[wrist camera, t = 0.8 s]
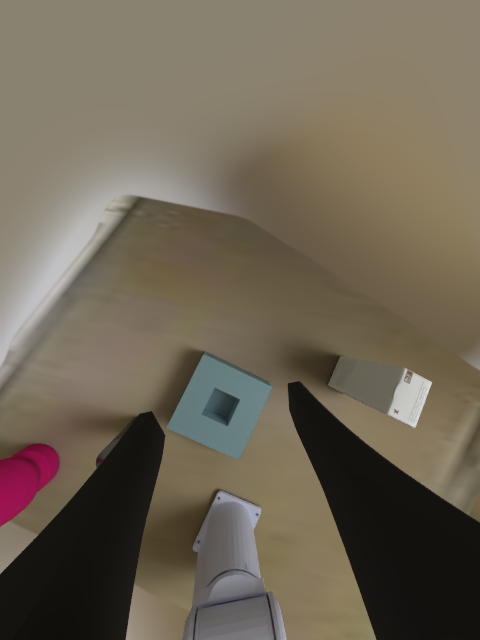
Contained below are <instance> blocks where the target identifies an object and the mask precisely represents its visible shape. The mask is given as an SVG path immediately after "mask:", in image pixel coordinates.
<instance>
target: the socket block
mask: <svg viewBox="0 0 480 640" xmlns="http://www.w3.org/2000/svg"><path fill="white" fill-rule="evenodd" d="M271 389H272V386H271V385H270V384H269V382H268V381H266V380H263V379H261V378H259V377H257V376H255V375H253V374H251V373H249V372H247V371H245V370H243V369H240V368H238V367H236V366H234V365H232V364H230V363H228V362H226V361H224V360H222V359H220V358H217V357H215V356H213V355H211V354H209V353H207V352H205V353H204V354H203V356H202V358H201V360H200V362H199V364H198V366H197V368H196V370H195V372H194V374H193V376H192V378H191V380H190V382H189V384H188V386H187V388H186V390H185V392H184V394H183V396H182V398H181V400H180V402H179V404H178V406H177V408H176V410H175V412H174V414H173V416H172V418H171V420H170V422H169V424H168V426H167V429H169V430H171V431H174V432H176V433H178V434H180V435H183V436H185V437H187V438H189V439H192V440H194V441H196V442H199V443H201V444H203V445H205V446H208V447H210V448H212V449H214V450H217V451H219V452H221V453H223V454H226V455H228V456H230V457H233V458H235V459H237V460H239V459H240V457H241V455H242V453H243V451H244V448H245V446H246V444H247V442H248V440H249V438H250V435H251V433H252V431H253V429H254V427H255V424H256V422H257V420H258V418H259V416H260V413H261V411H262V409H263V407H264V405H265V403H266V400H267V398H268V396H269V394H270V392H271Z"/></svg>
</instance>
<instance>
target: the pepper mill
mask: <svg viewBox="0 0 480 640" xmlns="http://www.w3.org/2000/svg"><path fill="white" fill-rule="evenodd" d="M58 468H59V458H58V455H57V453H56V452H55V450H54V449H52V448H51V447H49V446H47V445H43V444H35V445H31V446H28V447H26V448H25V449H23V450H21V451H20V452H18V453H16V454H15V455H13V456H12V457H11V458H7V459H3V460H0V527H1V526H2V525H3V524H5V523H7V522H8V521H10V520H11V519H13V518H14V517H15V516H17V515H18V514H19V513H20V512H21V511H23V510H24V509H25V508H26V507H27V506H28V505H29V504H30V502H31V501H32V500H33V498H34V497H35V495H36V493H37V492H38V491H39V490H41V489H42V488H43V487H44V486H45V485H46V484H47V483H49V482H50V481H51V480H52V479H53V478H54V476H55V475H56V473H57V471H58Z"/></svg>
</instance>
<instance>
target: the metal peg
mask: <svg viewBox="0 0 480 640" xmlns="http://www.w3.org/2000/svg"><path fill="white" fill-rule="evenodd" d="M136 418H137V417H136ZM136 418H134V419H133V420H132V421H131V422H130V423H129V424H128V425H127V426H126V427H125V428H124V429H123V431H122V432H121V433H120V434H119V435H118V436H117V437H116V438H115V439H114V440H113V441H112V442H111V443H110V444H109V445H108V446H107V447H106V448H105V449H104V450H103V451H102V452H101V453H100V454H99V455H98V457H97V459H96V467H97V468H98V467H99V465H100V464H101V463H102V462H103V461H104V459H105V458H106V457H107V455H108V454H109V453H110V452H111V450H112V449H113V448H114V446H115V445H116V444H117V443H118V441H119V440H120V439H121V437H122V436H123V435H124V434H125V432H126V431H127V430H128V428H129V427H130V426H131V424H132V423H133V422H134V421H135V419H136Z"/></svg>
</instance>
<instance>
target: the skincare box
mask: <svg viewBox="0 0 480 640" xmlns="http://www.w3.org/2000/svg"><path fill="white" fill-rule="evenodd" d="M431 384H432V382H431V381H429V380H427V379H425V378H423V377H421V376H419V375H417V374H415V373H413V372H412V371H410V370H408V369H406V368H404V367H398V366H393V365H387V364H382V363H376V362H371V361H366V360H360V359H355V358H349V357H345V356H340V358H339V360H338V363H337V365H336V367H335V369H334V372H333V374H332V376H331V379H330V381H329V383H328V386H330V387H332V388H334V389H335V390H337V391H339V392H341V393H343V394H345V395H347V396H349V397H351V398H353V399H355V400H357V401H359V402H361V403H363V404H365V405H367V406H369V407H371V408H373V409H376V410H378V411H380V412H382V413H384V414H386V415H388V416H390V417H392V418H394V419H397V420H399V421H400V422H402V423H404V424H406V425H408V426H410V427H413V428H415V427H416V424H417V421H418V419H419V416H420V413H421V411H422V408H423V405H424V403H425V400H426V397H427V394H428V392H429V389H430V386H431Z"/></svg>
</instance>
